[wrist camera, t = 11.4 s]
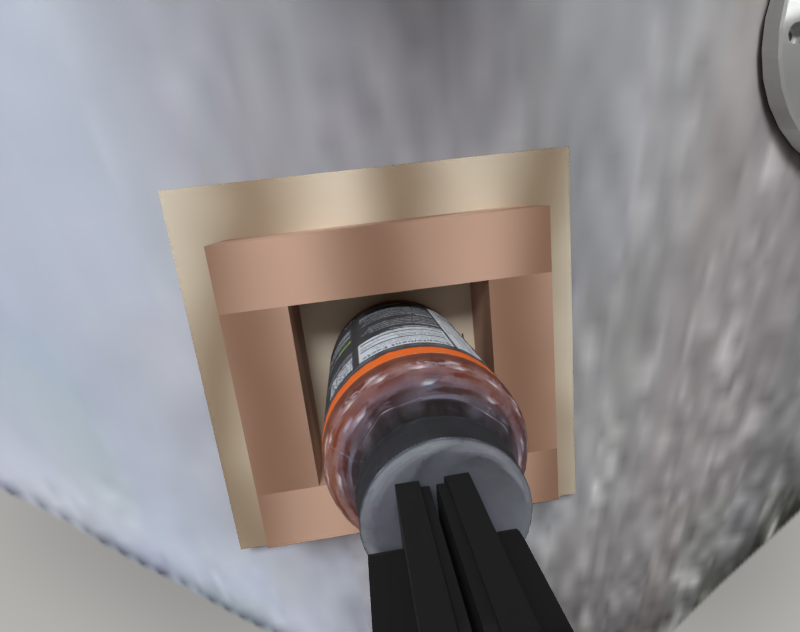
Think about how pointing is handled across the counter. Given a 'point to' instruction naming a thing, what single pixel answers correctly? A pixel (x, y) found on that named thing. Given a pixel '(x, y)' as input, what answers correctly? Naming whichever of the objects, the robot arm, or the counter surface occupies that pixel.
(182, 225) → the socket board
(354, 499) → the supplement bottle
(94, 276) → the counter surface
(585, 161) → the counter surface
